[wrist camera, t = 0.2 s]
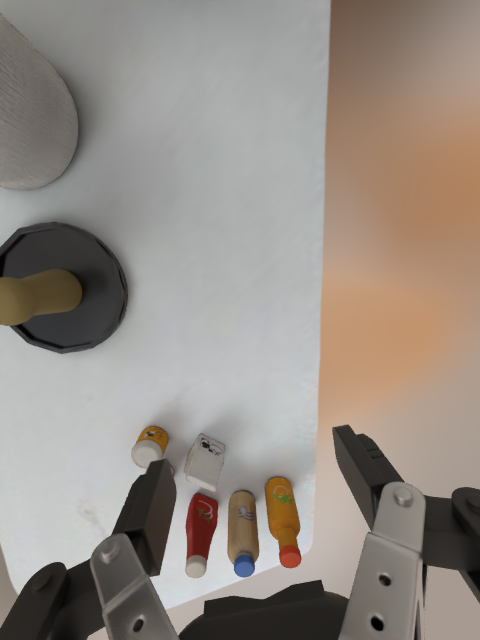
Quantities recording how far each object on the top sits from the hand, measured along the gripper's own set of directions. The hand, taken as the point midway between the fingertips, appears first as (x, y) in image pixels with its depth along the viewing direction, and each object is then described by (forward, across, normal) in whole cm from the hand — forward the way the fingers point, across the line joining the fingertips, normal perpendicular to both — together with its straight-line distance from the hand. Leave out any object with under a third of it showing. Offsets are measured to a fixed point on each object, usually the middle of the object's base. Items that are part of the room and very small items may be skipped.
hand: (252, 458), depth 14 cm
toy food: (+29, +10, +25) cm, 40 cm away
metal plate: (+29, +23, -9) cm, 39 cm away
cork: (+29, +23, -9) cm, 38 cm away
